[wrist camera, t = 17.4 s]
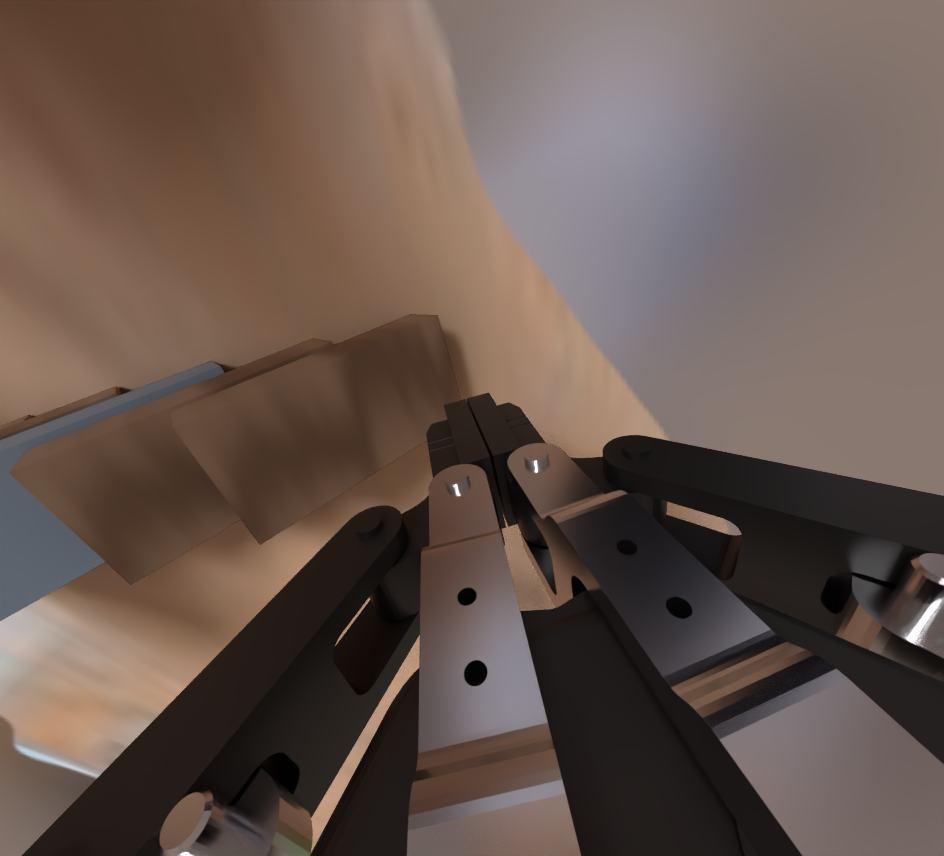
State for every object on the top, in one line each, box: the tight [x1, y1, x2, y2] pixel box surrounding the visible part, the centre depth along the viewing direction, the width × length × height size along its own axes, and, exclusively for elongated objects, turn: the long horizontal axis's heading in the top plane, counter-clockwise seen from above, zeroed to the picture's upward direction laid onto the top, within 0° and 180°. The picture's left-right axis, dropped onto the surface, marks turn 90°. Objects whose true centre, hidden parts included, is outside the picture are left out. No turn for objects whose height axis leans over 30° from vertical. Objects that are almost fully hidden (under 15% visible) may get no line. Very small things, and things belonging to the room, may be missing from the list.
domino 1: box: [0, 361, 224, 621], centre depth 14 cm, size 5×2×10 cm
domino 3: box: [170, 314, 461, 545], centre depth 15 cm, size 5×2×10 cm
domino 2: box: [9, 339, 333, 585], centre depth 15 cm, size 5×2×10 cm
